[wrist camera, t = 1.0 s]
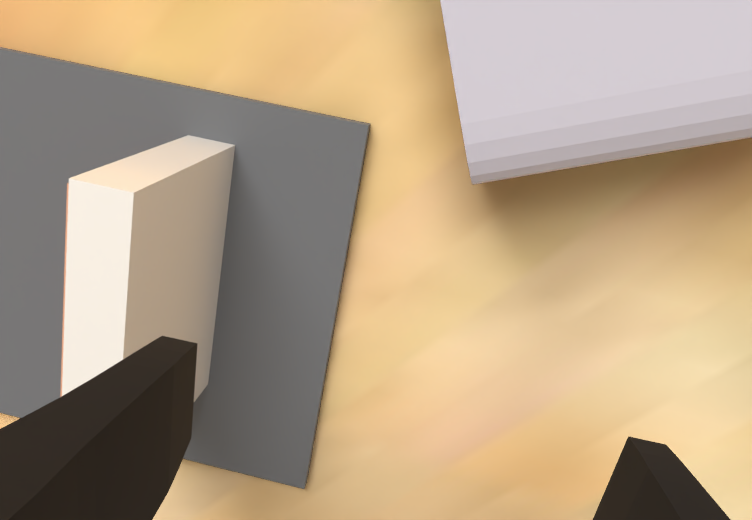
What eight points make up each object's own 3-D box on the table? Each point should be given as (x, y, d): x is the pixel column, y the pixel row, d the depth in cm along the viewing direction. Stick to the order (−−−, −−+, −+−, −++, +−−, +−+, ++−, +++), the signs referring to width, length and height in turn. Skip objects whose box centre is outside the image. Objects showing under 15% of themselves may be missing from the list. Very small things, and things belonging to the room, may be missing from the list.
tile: (208, 384, 26) (113, 506, 19) (162, 373, 26) (53, 490, 19) (235, 145, 23) (133, 192, 16) (183, 134, 23) (62, 176, 16)
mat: (306, 482, 27) (304, 489, 27) (-30, 398, 28) (-37, 403, 28) (370, 123, 22) (368, 125, 22) (-37, 39, 23) (-45, 39, 23)
